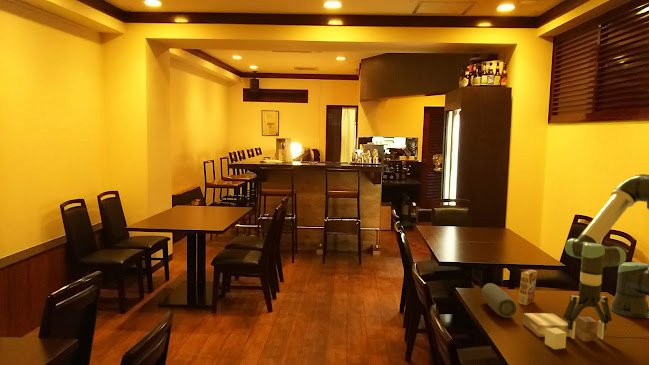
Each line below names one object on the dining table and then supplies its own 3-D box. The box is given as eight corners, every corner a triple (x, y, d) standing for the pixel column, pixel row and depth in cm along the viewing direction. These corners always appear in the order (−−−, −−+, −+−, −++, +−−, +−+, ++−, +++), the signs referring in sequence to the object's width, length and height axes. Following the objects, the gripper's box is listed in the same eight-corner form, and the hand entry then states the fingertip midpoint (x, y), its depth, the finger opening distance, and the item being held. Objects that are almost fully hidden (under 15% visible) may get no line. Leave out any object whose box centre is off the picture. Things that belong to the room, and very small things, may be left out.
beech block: (552, 324, 204) (553, 313, 204) (570, 337, 191) (571, 325, 191) (522, 324, 203) (523, 313, 203) (538, 337, 190) (539, 325, 190)
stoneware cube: (555, 342, 185) (556, 327, 185) (565, 348, 180) (566, 332, 180) (544, 343, 184) (545, 328, 183) (554, 349, 179) (555, 334, 178)
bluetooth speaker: (517, 321, 206) (518, 298, 205) (495, 320, 206) (497, 297, 205) (499, 302, 229) (500, 282, 228) (479, 302, 229) (480, 281, 228)
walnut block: (588, 336, 192) (589, 316, 191) (595, 341, 187) (597, 321, 186) (575, 336, 192) (577, 316, 191) (583, 341, 187) (584, 321, 186)
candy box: (527, 305, 226) (529, 274, 224) (518, 303, 229) (520, 272, 227) (534, 301, 232) (537, 270, 230) (525, 299, 235) (528, 268, 233)
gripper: (613, 280, 192) (608, 334, 194) (556, 279, 191) (552, 333, 193) (625, 286, 184) (620, 342, 186) (566, 285, 183) (561, 341, 185)
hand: (585, 337), depth 190 cm, fingers open, 11 cm apart
